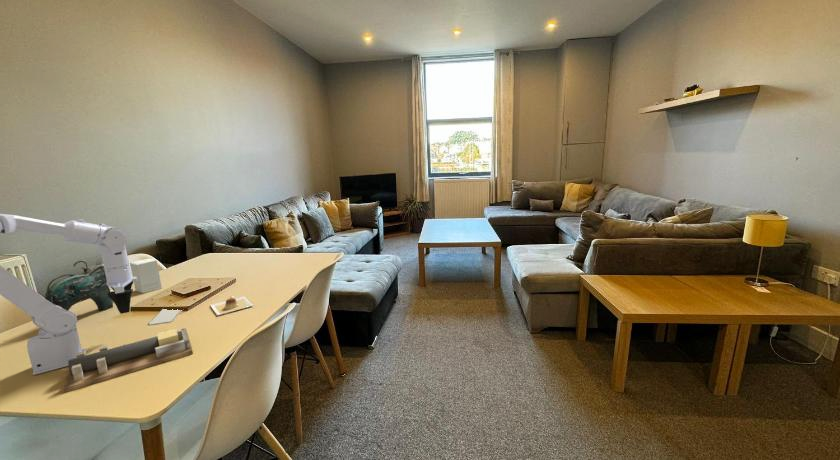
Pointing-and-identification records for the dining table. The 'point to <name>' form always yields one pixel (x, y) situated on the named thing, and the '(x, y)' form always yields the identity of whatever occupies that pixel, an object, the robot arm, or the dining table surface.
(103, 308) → the dark green irregular piece
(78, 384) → the board
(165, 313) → the smartphone
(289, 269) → the dining table surface
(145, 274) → the supplement box
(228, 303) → the dessert
